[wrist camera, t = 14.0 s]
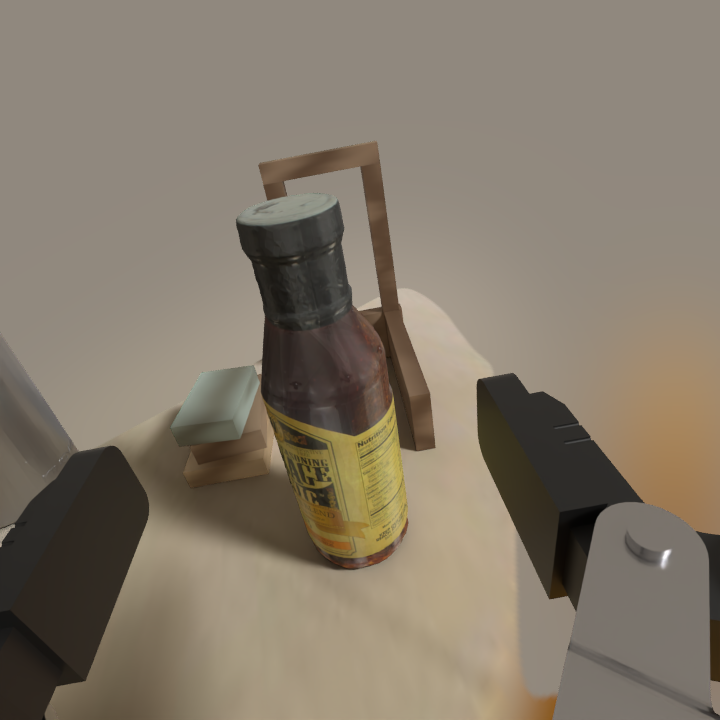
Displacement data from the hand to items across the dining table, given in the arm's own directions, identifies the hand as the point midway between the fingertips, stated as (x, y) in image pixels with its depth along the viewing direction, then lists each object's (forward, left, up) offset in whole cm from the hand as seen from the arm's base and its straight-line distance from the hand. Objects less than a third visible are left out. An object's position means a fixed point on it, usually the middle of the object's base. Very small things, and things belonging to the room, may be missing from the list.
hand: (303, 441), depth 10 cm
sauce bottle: (0, +11, -17) cm, 20 cm away
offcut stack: (-10, +22, -17) cm, 29 cm away
